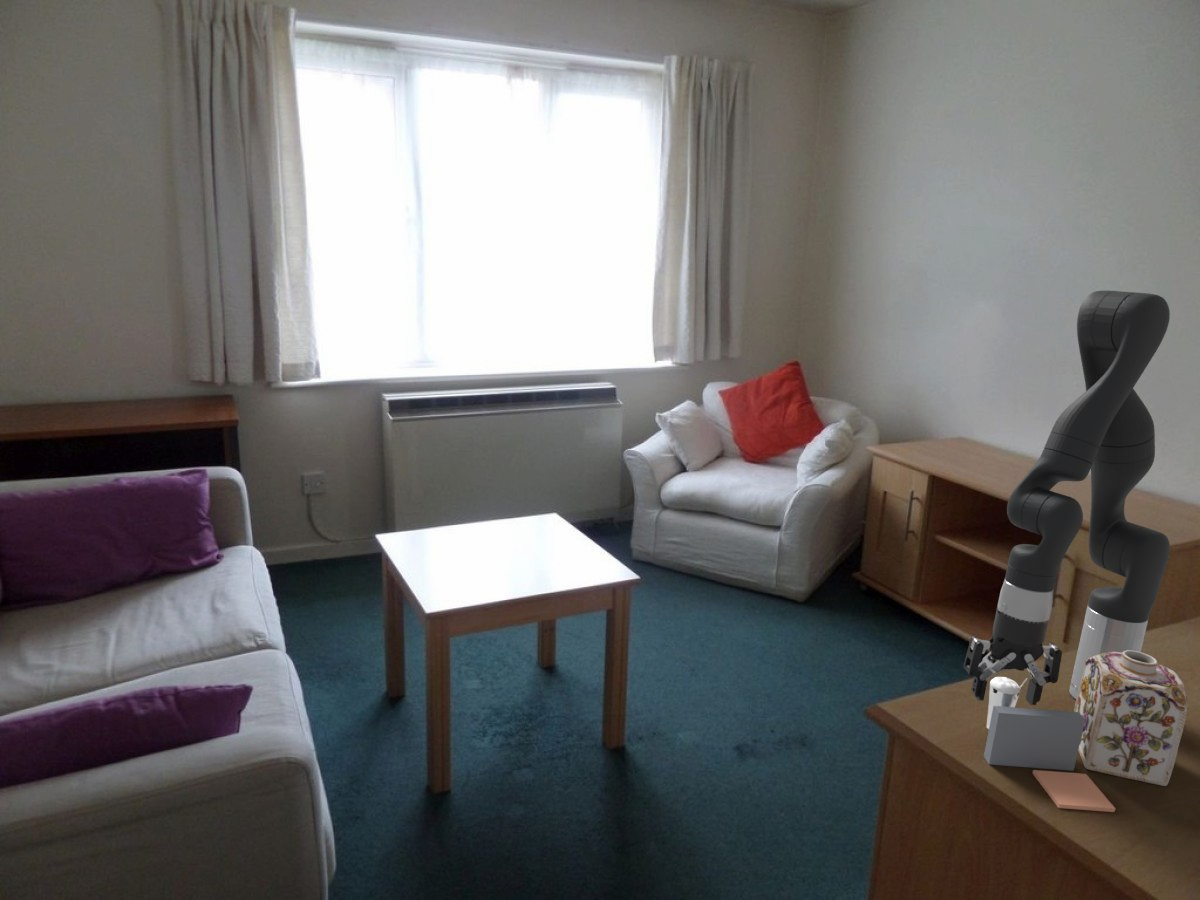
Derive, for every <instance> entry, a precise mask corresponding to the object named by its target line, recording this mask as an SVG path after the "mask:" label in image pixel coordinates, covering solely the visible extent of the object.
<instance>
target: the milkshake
mask: <svg viewBox="0 0 1200 900" xmlns="http://www.w3.org/2000/svg"><path fill="white" fill-rule="evenodd" d="M1028 679H1029V678H1028V677H1025V679H1024V680H1023V681H1022V683H1021V685H1019V683H1017V682H1016V681H1015V680H1013V679H1011V678H1009V677H1006V676H995V677H993V678H992V679H991V680H990V682H989V691H988V693H989V695H988V706H987V707H988V708H987V716H986V717H987V718H986V729H987V730H989V726H990V721H991V716H992V711H993V706H1003V707H1016V705H1017V703H1018V700H1019V696H1020V692H1021V690H1022V689H1021V688H1022V687H1023V686H1024V685H1025V683H1026V682H1027V680H1028Z"/></svg>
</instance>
